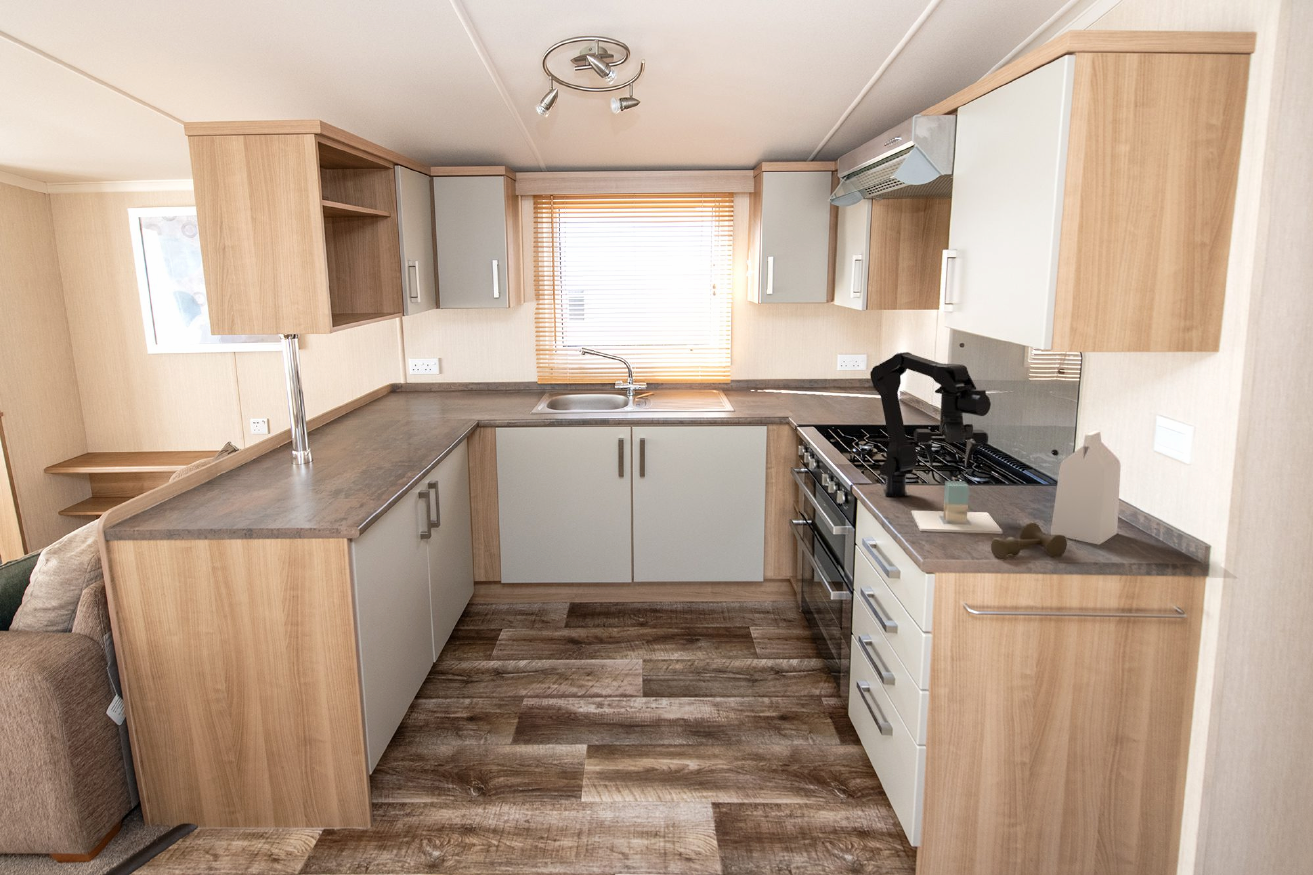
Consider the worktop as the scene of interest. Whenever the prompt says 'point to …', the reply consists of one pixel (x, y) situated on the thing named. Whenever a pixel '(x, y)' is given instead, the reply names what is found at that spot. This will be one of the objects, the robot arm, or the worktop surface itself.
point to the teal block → (956, 492)
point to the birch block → (955, 513)
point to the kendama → (1029, 542)
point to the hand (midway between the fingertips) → (948, 466)
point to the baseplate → (937, 523)
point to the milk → (1088, 493)
